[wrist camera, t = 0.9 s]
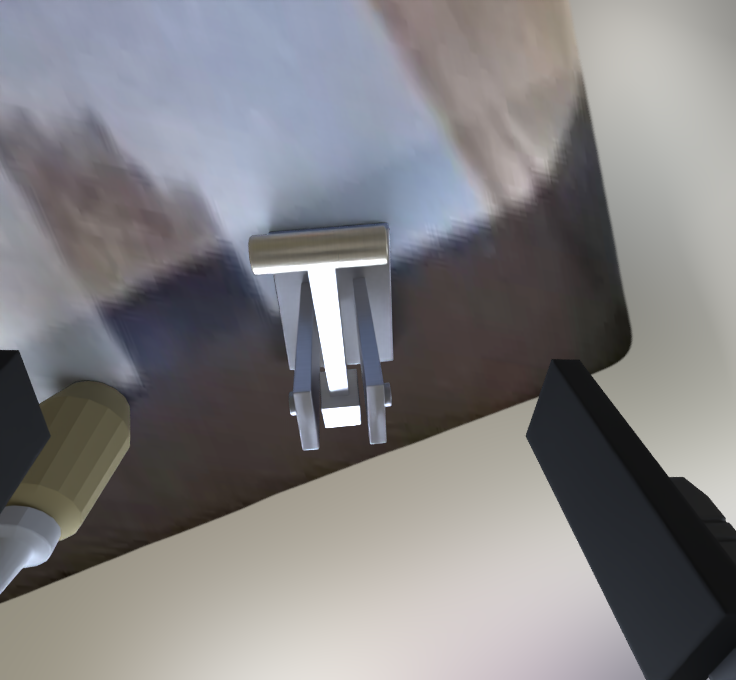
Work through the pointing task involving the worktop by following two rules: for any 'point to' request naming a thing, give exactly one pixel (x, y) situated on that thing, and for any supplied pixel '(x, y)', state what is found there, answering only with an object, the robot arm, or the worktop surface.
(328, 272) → the metal lever
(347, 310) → the press bracket
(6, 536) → the squeeze bottle
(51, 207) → the worktop surface
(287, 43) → the worktop surface
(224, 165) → the worktop surface
